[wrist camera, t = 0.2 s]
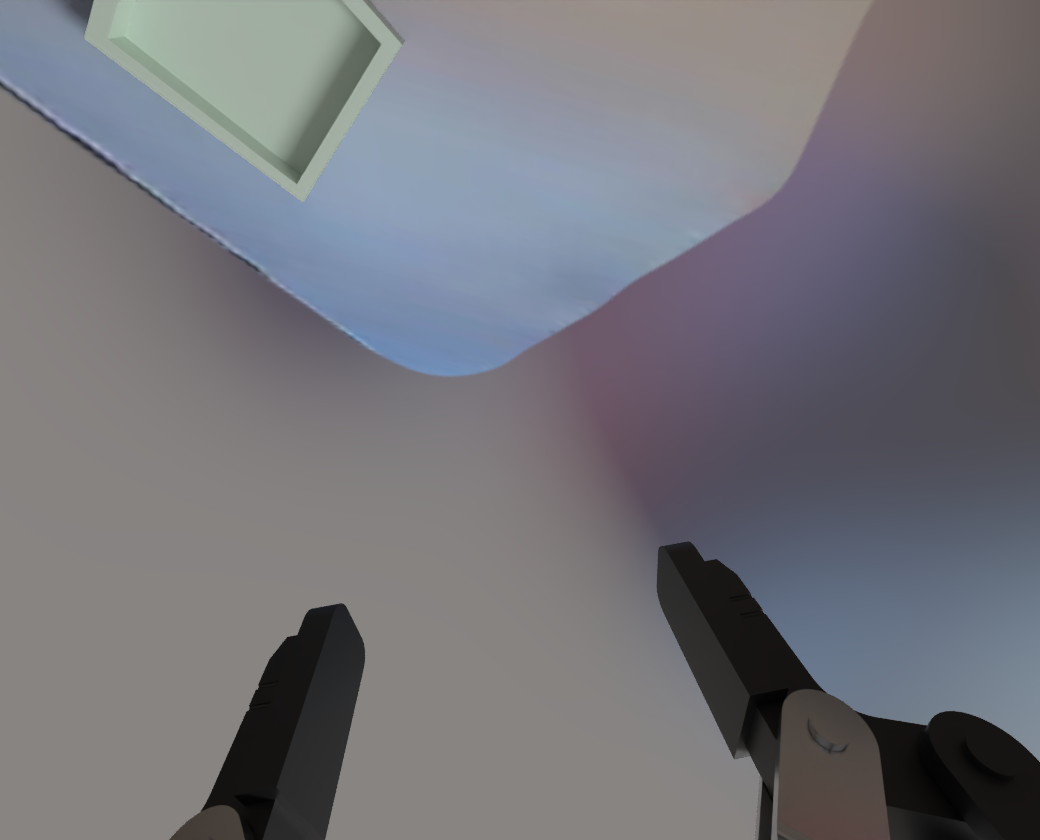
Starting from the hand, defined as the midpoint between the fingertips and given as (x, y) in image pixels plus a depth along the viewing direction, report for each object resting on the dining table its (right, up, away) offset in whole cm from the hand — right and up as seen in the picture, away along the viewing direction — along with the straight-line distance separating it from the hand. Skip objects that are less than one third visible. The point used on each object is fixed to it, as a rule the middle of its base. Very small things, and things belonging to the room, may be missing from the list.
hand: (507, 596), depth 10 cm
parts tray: (-15, +27, +14) cm, 34 cm away
